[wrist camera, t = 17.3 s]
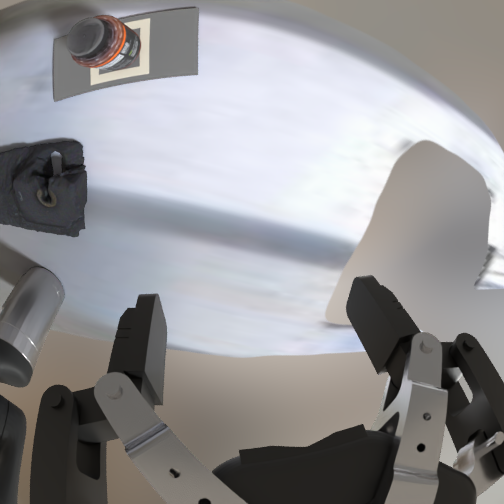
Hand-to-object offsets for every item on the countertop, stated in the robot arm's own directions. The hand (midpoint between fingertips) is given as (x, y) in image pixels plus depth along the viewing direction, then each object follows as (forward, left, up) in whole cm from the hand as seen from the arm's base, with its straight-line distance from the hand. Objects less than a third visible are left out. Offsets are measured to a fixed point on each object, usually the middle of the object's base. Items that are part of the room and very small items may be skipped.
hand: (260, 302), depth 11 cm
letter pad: (-13, +16, -28) cm, 35 cm away
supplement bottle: (-13, +16, -28) cm, 34 cm away
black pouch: (-30, -1, -29) cm, 42 cm away
